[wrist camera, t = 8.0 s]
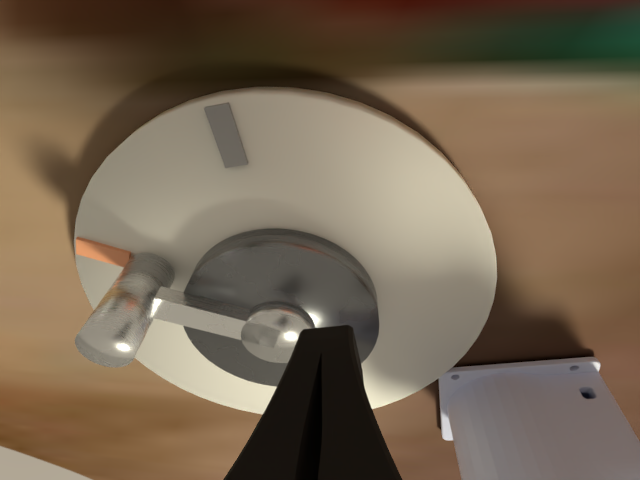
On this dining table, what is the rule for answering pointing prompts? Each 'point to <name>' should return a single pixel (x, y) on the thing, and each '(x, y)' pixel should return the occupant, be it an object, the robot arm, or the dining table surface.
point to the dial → (238, 303)
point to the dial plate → (296, 224)
